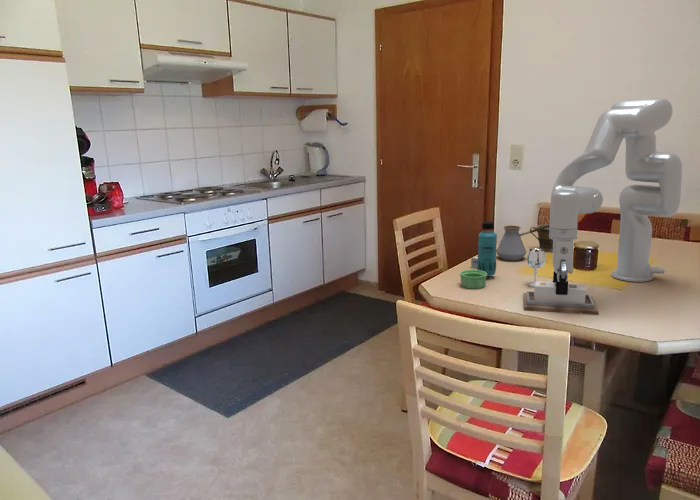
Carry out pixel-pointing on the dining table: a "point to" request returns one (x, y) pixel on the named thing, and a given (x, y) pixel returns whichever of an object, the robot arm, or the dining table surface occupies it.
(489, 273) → the beverage bottle
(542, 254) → the wineglass
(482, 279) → the ramekin
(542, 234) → the ceramic cup
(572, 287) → the power strip
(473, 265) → the usb wall charger
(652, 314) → the dining table surface
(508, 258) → the coffee pot
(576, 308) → the board
